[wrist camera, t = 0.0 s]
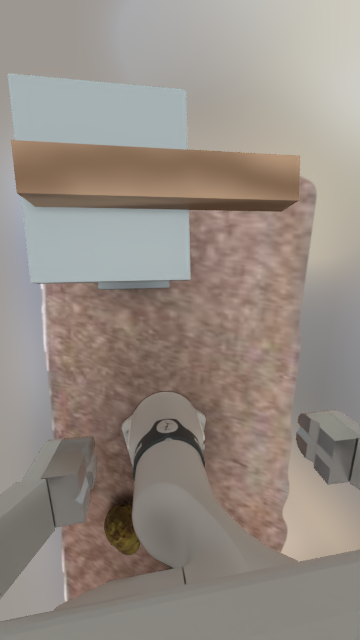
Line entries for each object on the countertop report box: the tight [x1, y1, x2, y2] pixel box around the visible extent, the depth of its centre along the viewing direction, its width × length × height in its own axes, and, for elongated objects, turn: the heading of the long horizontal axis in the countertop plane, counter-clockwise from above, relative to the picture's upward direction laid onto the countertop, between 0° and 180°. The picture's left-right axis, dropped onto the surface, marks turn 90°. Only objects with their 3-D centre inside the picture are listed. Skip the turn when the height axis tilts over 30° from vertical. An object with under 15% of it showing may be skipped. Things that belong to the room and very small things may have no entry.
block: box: [11, 140, 300, 212], centre depth 18 cm, size 4×22×2 cm, turn 91°
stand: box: [8, 74, 190, 289], centre depth 32 cm, size 16×14×26 cm
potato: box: [104, 501, 140, 555], centre depth 47 cm, size 8×13×8 cm, turn 171°
